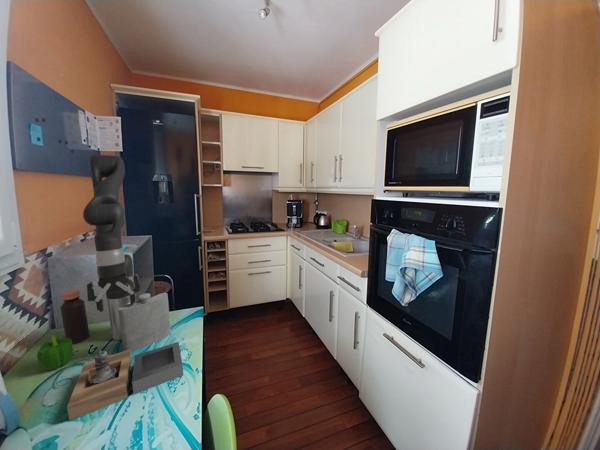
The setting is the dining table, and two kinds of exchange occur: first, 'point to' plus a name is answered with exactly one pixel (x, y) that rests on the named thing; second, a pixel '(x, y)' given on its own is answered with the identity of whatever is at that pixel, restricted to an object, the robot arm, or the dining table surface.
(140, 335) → the hip flask
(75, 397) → the wooden rectangular frame
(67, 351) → the bell pepper
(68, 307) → the bottle
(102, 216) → the robot arm
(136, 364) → the seat block
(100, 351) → the chess piece
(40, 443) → the dining table surface
